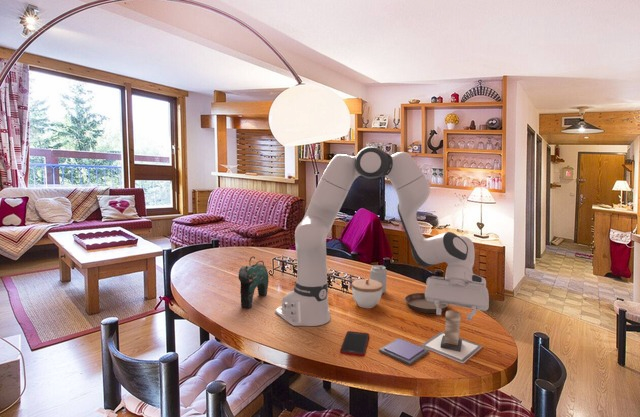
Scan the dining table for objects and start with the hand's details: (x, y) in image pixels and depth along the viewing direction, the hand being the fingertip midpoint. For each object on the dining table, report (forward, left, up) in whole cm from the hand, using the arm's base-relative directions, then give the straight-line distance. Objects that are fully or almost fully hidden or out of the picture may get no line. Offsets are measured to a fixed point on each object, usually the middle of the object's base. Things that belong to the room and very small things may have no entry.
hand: (453, 317), depth 121 cm
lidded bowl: (-40, +6, -10) cm, 42 cm away
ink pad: (-8, -16, -9) cm, 20 cm away
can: (-46, +22, -10) cm, 52 cm away
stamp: (+1, -2, -9) cm, 9 cm away
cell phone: (-22, -23, -10) cm, 33 cm away
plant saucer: (-22, +23, -10) cm, 34 cm away
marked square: (+1, -2, -9) cm, 10 cm away
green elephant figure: (-75, -26, -10) cm, 80 cm away
